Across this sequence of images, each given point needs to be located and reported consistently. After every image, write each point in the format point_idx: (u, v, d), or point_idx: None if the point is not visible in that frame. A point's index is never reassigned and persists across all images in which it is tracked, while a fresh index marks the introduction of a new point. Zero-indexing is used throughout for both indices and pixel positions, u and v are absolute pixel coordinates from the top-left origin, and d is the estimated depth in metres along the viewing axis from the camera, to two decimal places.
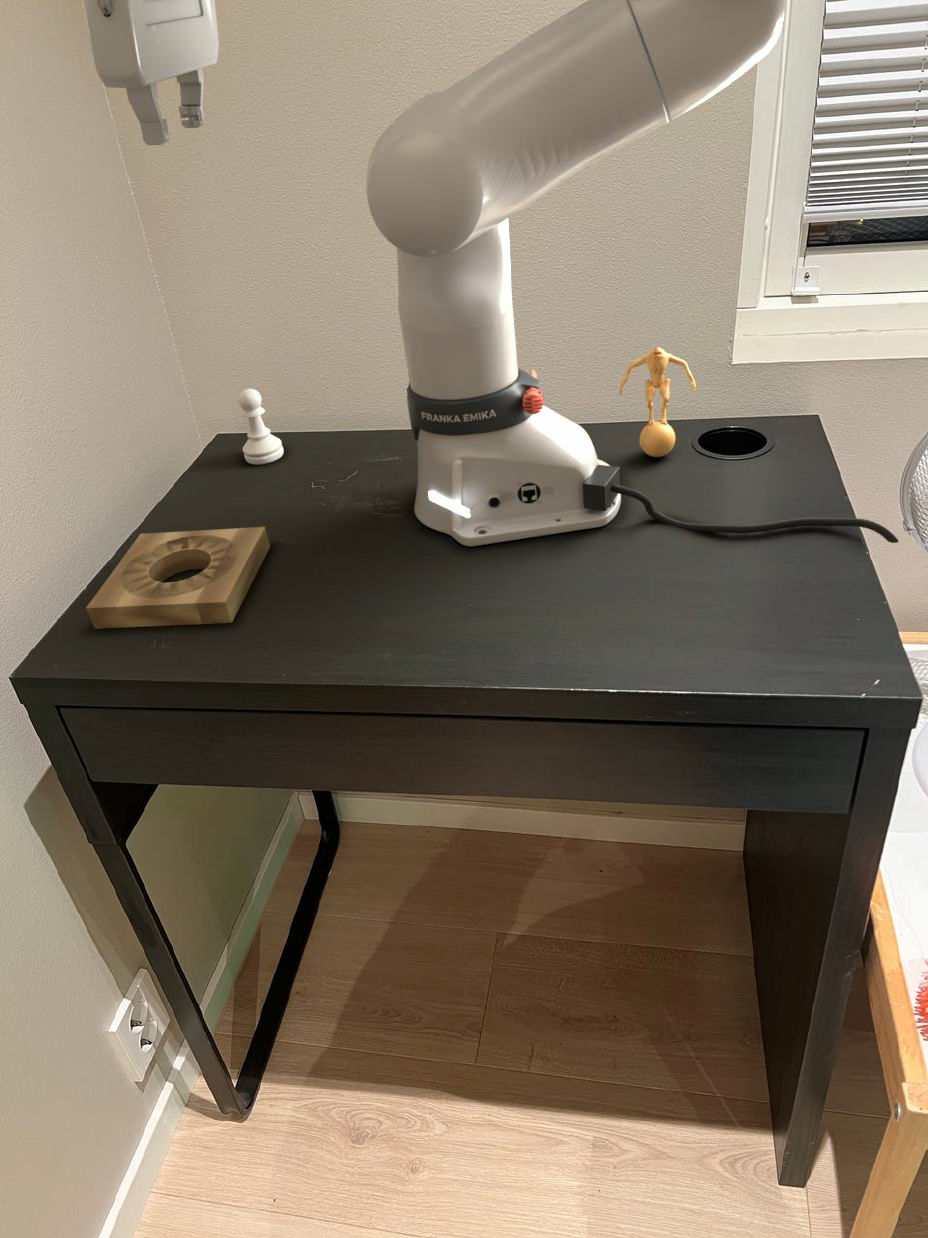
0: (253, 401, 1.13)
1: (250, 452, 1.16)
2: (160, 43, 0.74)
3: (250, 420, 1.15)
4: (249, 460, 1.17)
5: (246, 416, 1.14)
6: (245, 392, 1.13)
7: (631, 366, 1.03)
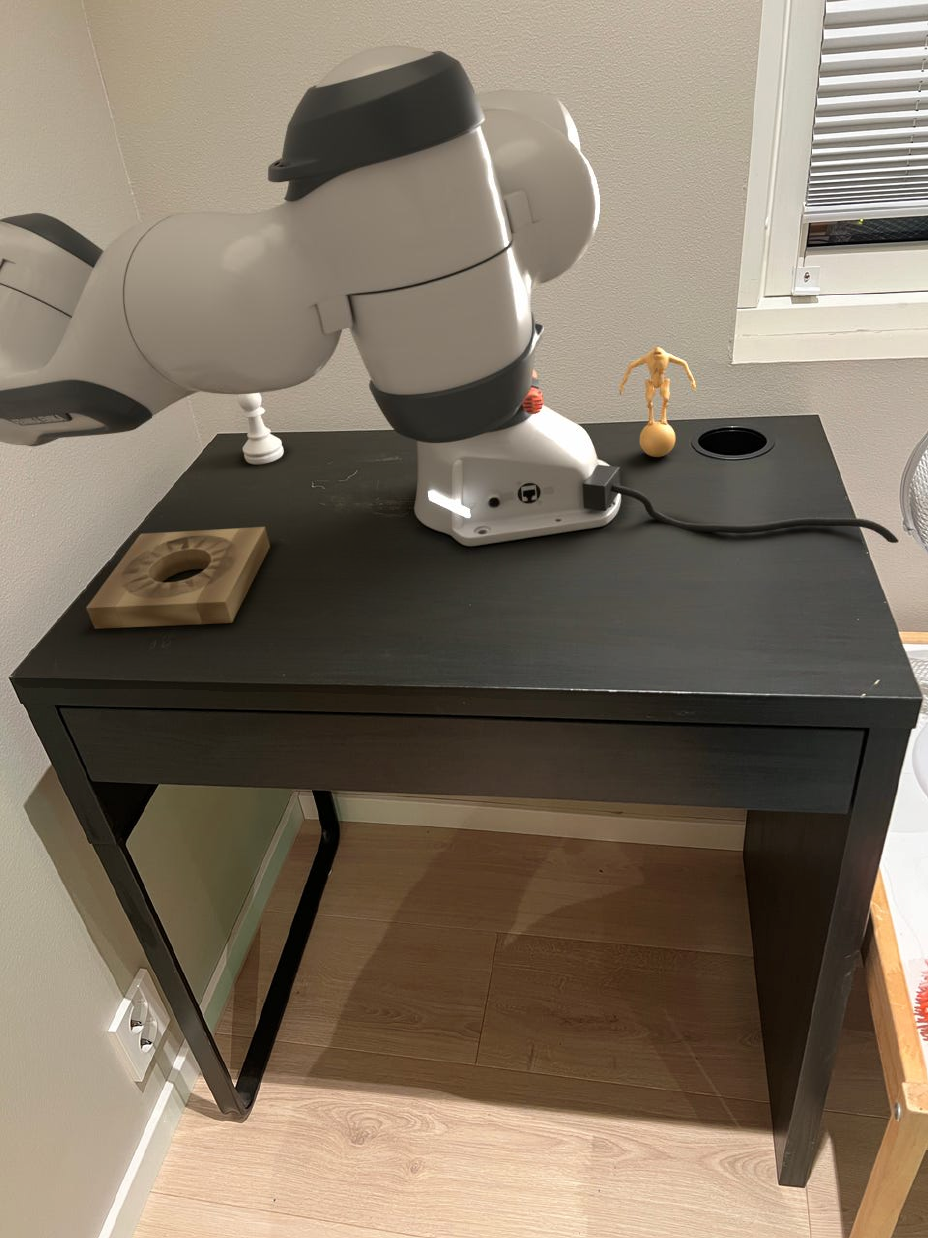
0: (253, 401, 1.13)
1: (250, 452, 1.16)
2: None
3: (250, 420, 1.15)
4: (249, 460, 1.17)
5: (246, 416, 1.14)
6: None
7: (631, 366, 1.03)
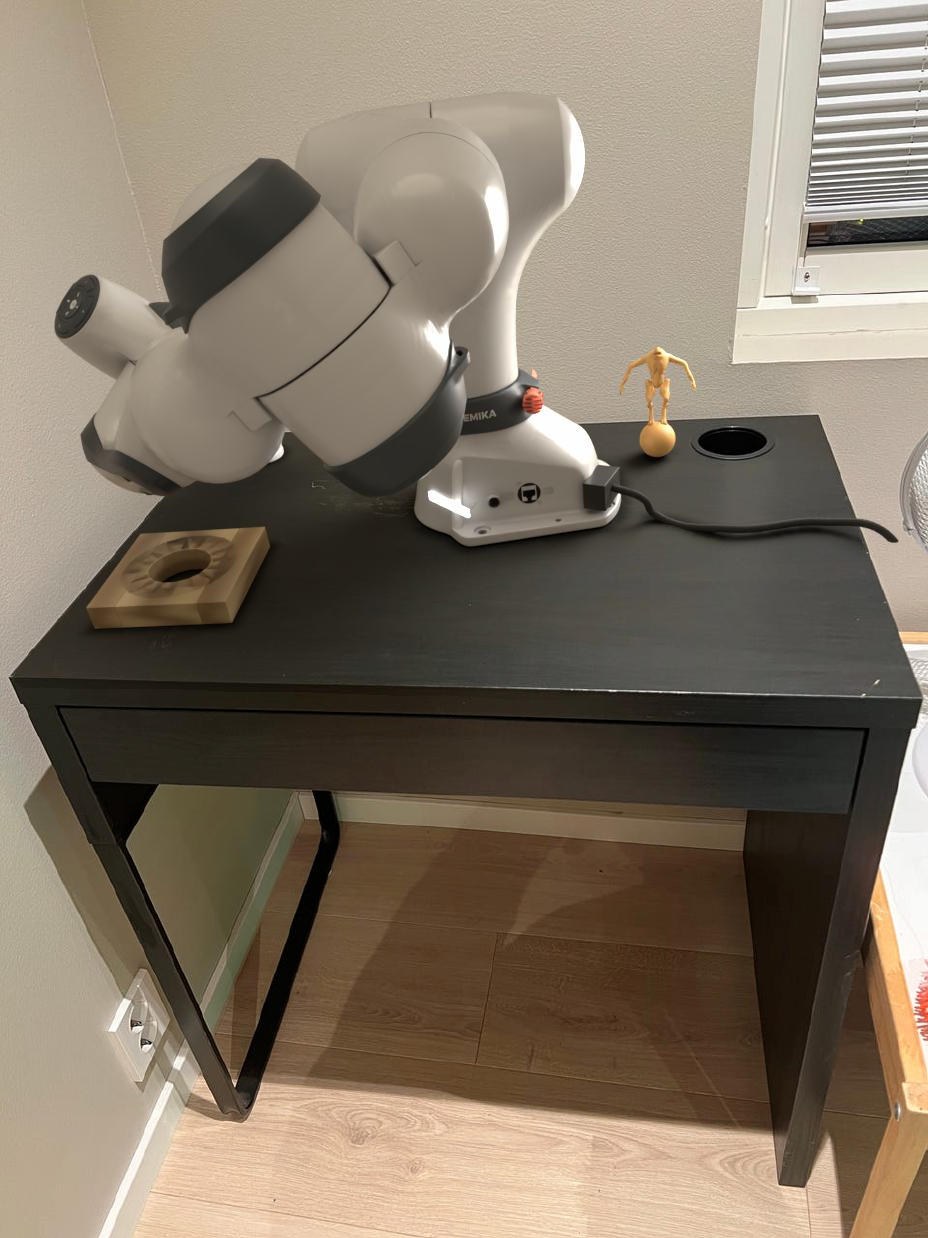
0: None
1: None
2: None
3: None
4: None
5: None
6: None
7: (631, 366, 1.03)
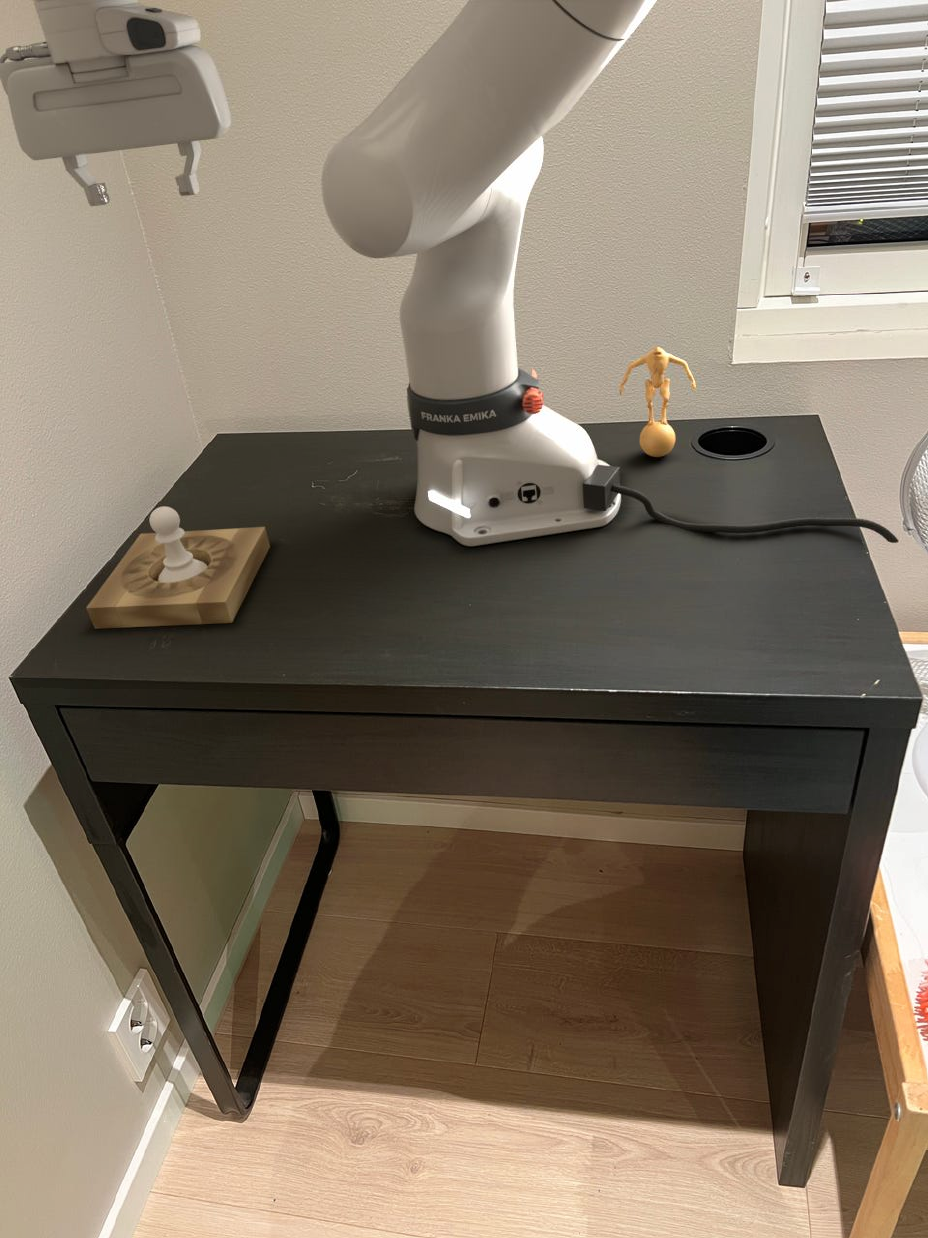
0: (168, 524, 0.89)
1: None
2: (66, 125, 0.86)
3: (166, 545, 0.91)
4: None
5: (160, 542, 0.90)
6: (157, 512, 0.89)
7: (631, 366, 1.03)
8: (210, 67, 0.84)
